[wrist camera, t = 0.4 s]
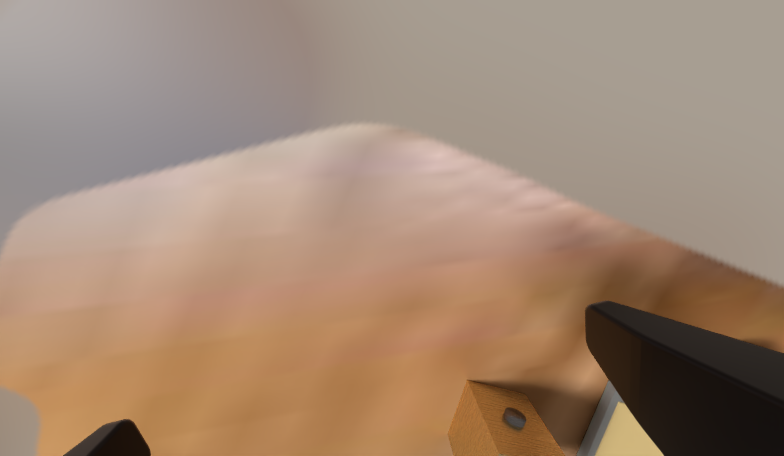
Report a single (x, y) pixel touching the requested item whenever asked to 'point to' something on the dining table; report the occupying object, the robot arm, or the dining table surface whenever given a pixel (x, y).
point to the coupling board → (615, 430)
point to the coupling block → (498, 425)
